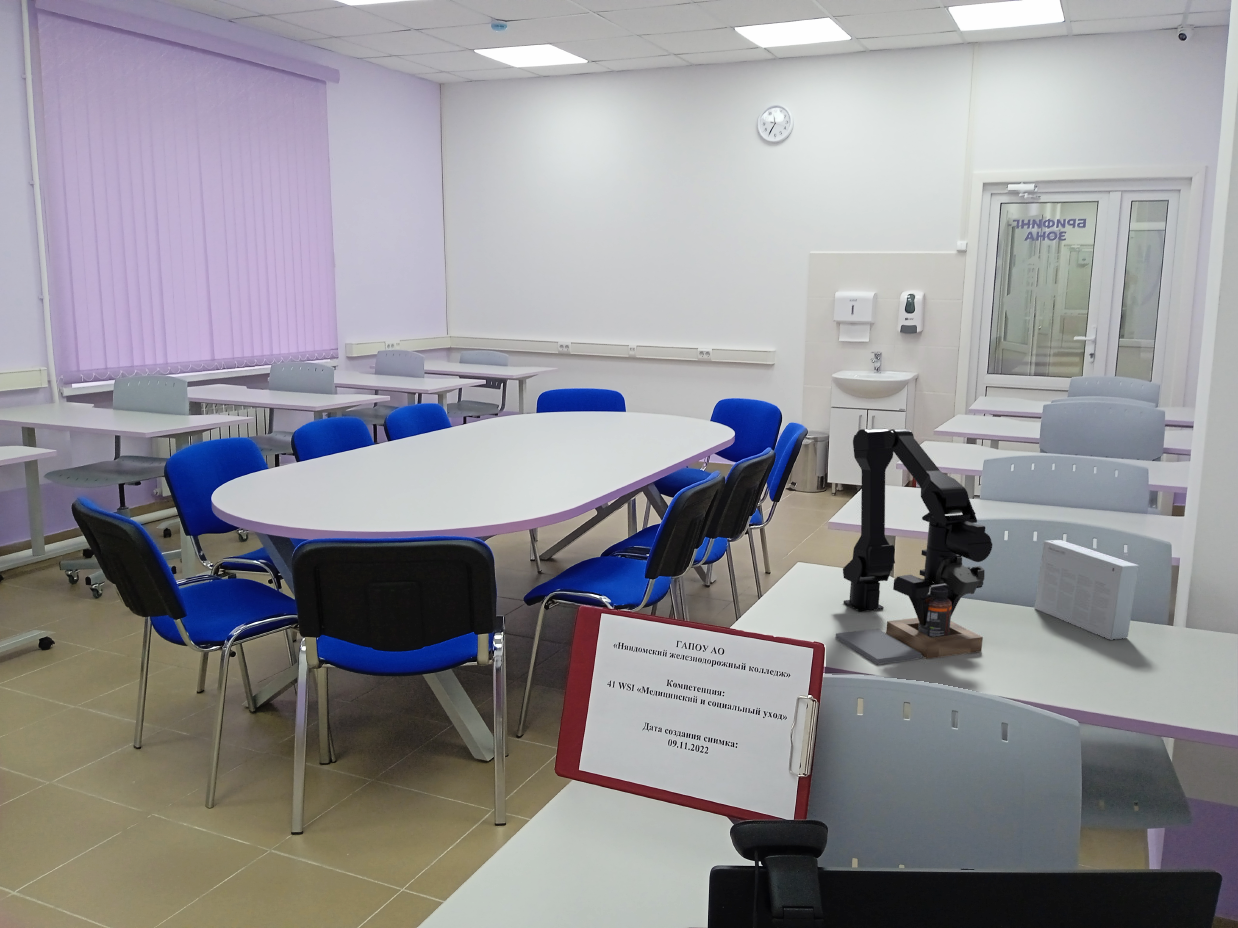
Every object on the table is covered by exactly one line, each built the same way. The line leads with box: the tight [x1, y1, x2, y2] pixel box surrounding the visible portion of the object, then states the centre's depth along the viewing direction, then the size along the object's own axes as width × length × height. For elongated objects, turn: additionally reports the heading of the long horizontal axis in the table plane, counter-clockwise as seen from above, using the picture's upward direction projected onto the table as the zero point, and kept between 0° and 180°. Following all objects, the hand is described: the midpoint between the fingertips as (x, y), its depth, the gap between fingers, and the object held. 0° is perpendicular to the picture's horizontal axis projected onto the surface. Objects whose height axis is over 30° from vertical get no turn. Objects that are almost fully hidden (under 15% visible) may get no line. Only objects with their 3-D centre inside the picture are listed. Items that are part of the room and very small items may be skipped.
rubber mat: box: [835, 628, 922, 665], centre depth 192 cm, size 14×10×1 cm
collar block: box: [885, 617, 984, 660], centre depth 196 cm, size 13×13×3 cm
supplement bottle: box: [918, 586, 952, 638], centre depth 195 cm, size 6×6×11 cm
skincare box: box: [1034, 539, 1140, 641], centre depth 209 cm, size 21×5×16 cm, turn 22°
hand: (934, 623), depth 195 cm, fingers closed on supplement bottle, 6 cm apart
